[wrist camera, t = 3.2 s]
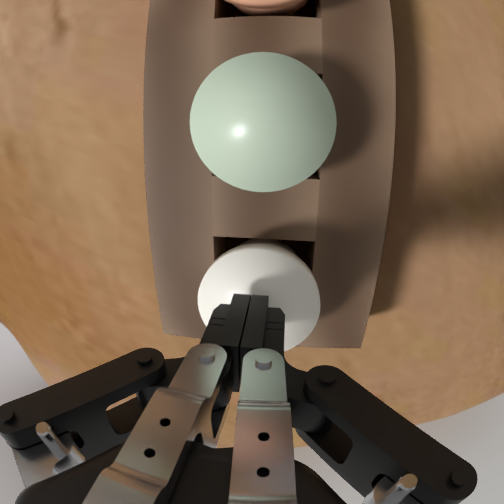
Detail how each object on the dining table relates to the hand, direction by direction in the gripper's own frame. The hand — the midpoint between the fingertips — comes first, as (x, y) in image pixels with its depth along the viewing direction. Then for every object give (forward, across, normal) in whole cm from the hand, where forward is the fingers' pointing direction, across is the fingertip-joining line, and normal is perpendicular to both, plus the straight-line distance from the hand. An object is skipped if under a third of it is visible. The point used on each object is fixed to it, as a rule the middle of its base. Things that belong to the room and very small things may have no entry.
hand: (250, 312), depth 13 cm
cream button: (+4, 0, 0) cm, 4 cm away
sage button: (+4, 0, -8) cm, 9 cm away
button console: (+6, 0, -8) cm, 10 cm away
